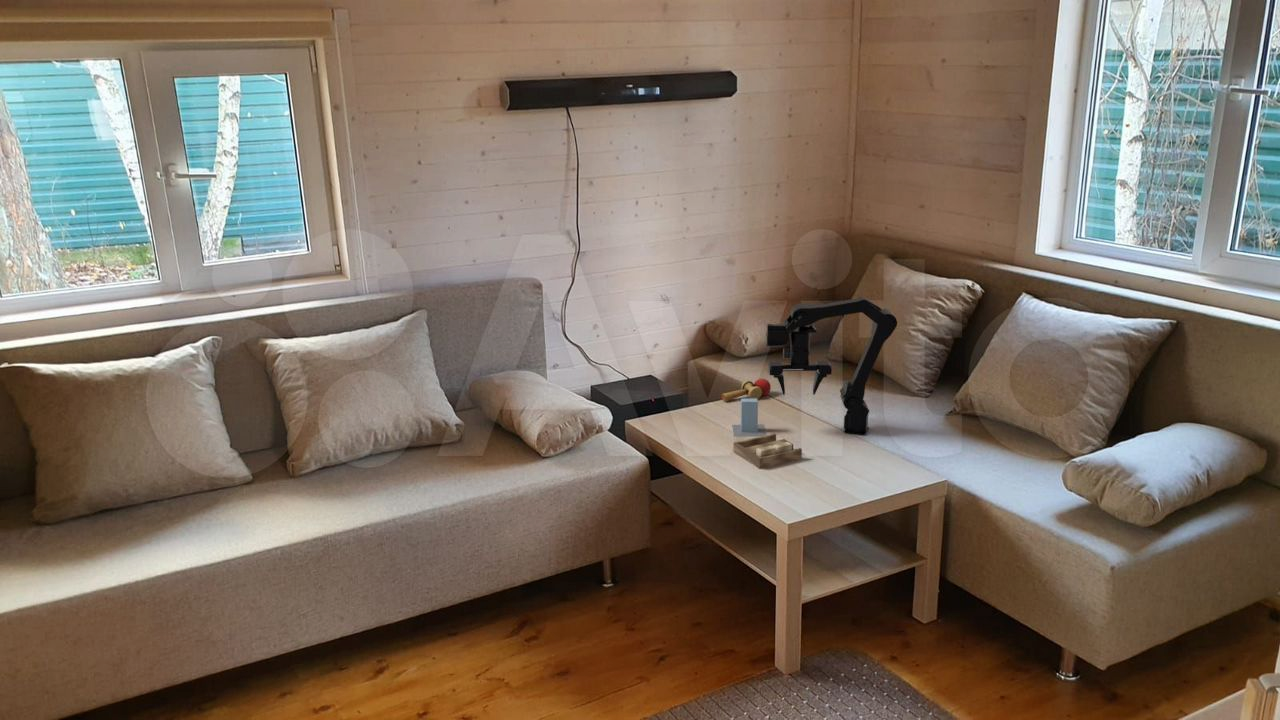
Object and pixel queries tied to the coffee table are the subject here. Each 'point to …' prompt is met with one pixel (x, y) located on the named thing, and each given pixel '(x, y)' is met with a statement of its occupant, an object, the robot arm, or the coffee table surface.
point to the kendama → (749, 390)
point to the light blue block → (749, 415)
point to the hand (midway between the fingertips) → (798, 394)
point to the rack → (748, 453)
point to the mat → (738, 432)
